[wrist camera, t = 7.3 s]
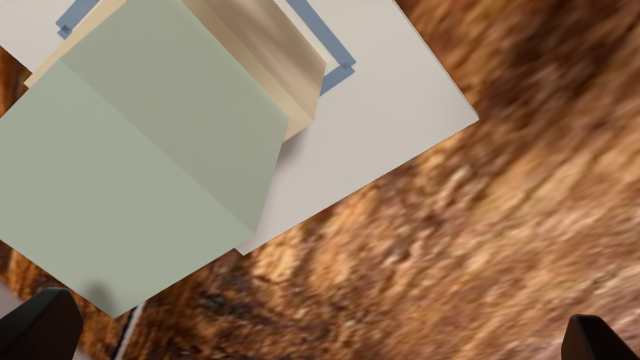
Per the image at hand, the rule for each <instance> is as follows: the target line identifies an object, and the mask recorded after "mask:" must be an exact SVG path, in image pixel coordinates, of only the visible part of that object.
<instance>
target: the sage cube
mask: <svg viewBox="0 0 640 360" xmlns="http://www.w3.org/2000/svg"><path fill="white" fill-rule="evenodd" d="M289 118H290V117H289V116H288V115H287V114H286V113H285V112H284V111H283V110H282V109H281V107H280V106H279V105H278V104H277V103H276V102H275V101H274V100H273V99H272V98H271V97H270V96H269V95H268V94H267V92H266V91H265V90H264V89H263V88H262V87H261V86H260V85H259V84H258V83H257V82H256V81H255V80H254V79H253V78H252V76H251V75H250V74H249V73H248V72H247V71H246V70H245V69H244V68H243V67H242V66H241V65H240V64H239V63H238V61H237V60H236V59H235V58H234V57H233V56H232V55H231V54H230V53H229V52H228V51H227V50H226V49H225V48H224V47H223V45H222V44H221V43H220V42H219V41H218V40H217V39H216V38H215V37H214V36H213V35H212V34H211V33H210V32H209V30H208V29H207V28H206V27H205V26H204V25H203V24H202V23H201V22H200V21H199V20H198V19H197V18H196V17H195V16H194V14H193V13H192V12H191V11H190V10H189V9H188V8H187V7H186V6H185V5H184V4H183V3H182V2H181V1H180V0H127V1H126V2H125V3H124V4H123V5H122V6H120V7H119V8H118V9H117V10H116V11H114V12H113V13H112V14H111V15H110V16H109V17H107V18H106V19H105V20H104V21H103V22H102V23H100V24H99V25H98V26H97V27H96V28H94V29H93V30H92V31H91V32H90V33H89V34H87V35H86V36H85V37H84V38H83V39H81V40H80V41H79V42H78V43H77V44H76V45H74V46H73V47H72V48H71V49H70V50H69V51H67V52H66V53H65V54H64V55H63V56H61V57H60V58H59V59H58V60H57V61H56V62H55V63H54V64H53V65H52V66H51V67H50V68H49V69H48V70H47V71H46V72H45V73H44V74H43V75H42V77H41V78H40V79H39V80H38V81H37V82H36V83H35V84H34V85H33V86H32V87H31V88H30V89H29V90H28V91H27V92H26V93H25V94H24V95H23V96H22V97H21V98H20V99H19V100H18V101H17V102H16V103H15V104H14V105H13V106H12V107H11V108H10V109H9V110H8V111H7V112H6V113H5V114H4V116H3V117H2V118H1V119H0V239H1V240H2V241H4V242H5V243H7V244H8V245H9V246H11V247H12V248H14V249H15V250H17V251H18V252H19V253H21V254H22V255H24V256H25V257H27V258H28V259H29V260H31V261H32V262H34V263H35V264H37V265H38V266H39V267H41V268H42V269H44V270H45V271H47V272H48V273H49V274H51V275H52V276H54V277H55V278H57V279H58V280H59V281H61V282H62V283H64V284H65V285H67V286H68V287H69V288H71V289H72V290H74V291H75V292H77V293H78V294H79V295H81V296H82V297H84V298H85V299H87V300H88V301H89V302H91V303H92V304H94V305H95V306H97V307H98V308H99V309H101V310H102V311H104V312H105V313H107V314H108V315H109V316H111V317H112V318H114V319H115V318H116V317H118V316H120V315H122V314H123V313H125V312H127V311H128V310H130V309H132V308H133V307H135V306H137V305H138V304H140V303H142V302H144V301H145V300H147V299H149V298H150V297H152V296H154V295H155V294H157V293H159V292H160V291H162V290H164V289H165V288H167V287H169V286H171V285H172V284H174V283H176V282H177V281H179V280H181V279H182V278H184V277H186V276H187V275H189V274H191V273H192V272H194V271H196V270H198V269H199V268H201V267H203V266H204V265H206V264H208V263H209V262H211V261H213V260H214V259H216V258H218V257H219V256H221V255H223V254H225V253H226V252H228V251H230V250H231V249H233V248H235V247H236V246H238V245H240V244H241V243H243V242H245V241H247V240H248V239H250V238H252V237H253V236H255V234H256V231H257V228H258V224H259V221H260V217H261V214H262V211H263V207H264V204H265V200H266V197H267V193H268V190H269V187H270V183H271V180H272V176H273V173H274V169H275V166H276V163H277V159H278V156H279V152H280V149H281V145H282V142H283V139H284V135H285V132H286V128H287V125H288V122H289Z"/></svg>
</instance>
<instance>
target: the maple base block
mask: <svg viewBox="0 0 640 360" xmlns="http://www.w3.org/2000/svg"><path fill="white" fill-rule="evenodd" d="M126 1H127V0H103V1H102V2H101V3H100V4H99V5H98V6H97V7H96V8H95V9H94V10H93V11H92V12H91V13H90V14H89V16H88V17H87V18H86V19H85V20H84V21H83V22H82V23H81V24H80V25H79V26H78V27H77V28H76V29H75V30H74V31H73V32H72V33H71V34H70V35H69V36H68V37H67V38H66V40H65V41H64V42H63V43H62V44H61V45H60V46H59V47H58V48H57V49H56V50H55V51H54V52H53V53H52V54H51V55H50V56H49V57H48V58H47V59H46V60H45V61H44V62H43V64H42V65H41V66H40V67H39V68H38V69H37V70H36V71H35V72H34V73H33V74H32V75H31V76H30V77H29V78H28V79H27V80H26V81H25V82H24V84H25V85H26V86H28V87H29V88H31V87H32V86H33V85H34V84H35V83H36V82H37V81H38V80H39V79H40V78H41V77H42V75H43V74H44V73H45V72H46V71H47V70H48V69H49V68H50V67H51V66H52V65H53V64H54V63H55V62H56V61H57V60H58V59H59V58H60V57H61V56H63V55H64V54H65V53H66V52H67V51H69V50H70V49H71V48H72V47H73V46H74V45H76V44H77V43H78V42H79V41H80V40H81V39H83V38H84V37H85V36H86V35H87V34H89V33H90V32H91V31H92V30H93V29H94V28H96V27H97V26H98V25H99V24H100V23H102V22H103V21H104V20H105V19H106V18H107V17H109V16H110V15H111V14H112V13H113V12H114V11H116V10H117V9H118V8H119V7H120V6H122V5H123V4H124V3H125V2H126ZM180 1H181V2H182V3H183V4H184V5H185V6H186V7H187V8H188V9H189V10H190V11H191V12H192V13H193V14H194V16H195V17H196V18H197V19H198V20H199V21H200V22H201V23H202V24H203V25H204V26H205V27H206V28H207V29H208V30H209V32H210V33H211V34H212V35H213V36H214V37H215V38H216V39H217V40H218V41H219V42H220V43H221V44H222V45H223V47H224V48H225V49H226V50H227V51H228V52H229V53H230V54H231V55H232V56H233V57H234V58H235V59H236V60H237V61H238V63H239V64H240V65H241V66H242V67H243V68H244V69H245V70H246V71H247V72H248V73H249V74H250V75H251V76H252V78H253V79H254V80H255V81H256V82H257V83H258V84H259V85H260V86H261V87H262V88H263V89H264V90H265V91H266V92H267V94H268V95H269V96H270V97H271V98H272V99H273V100H274V101H275V102H276V103H277V104H278V105H279V106H280V107H281V109H282V110H283V111H284V112H285V113H286V114H287V115H288V116H289V117H290V118H289V122H288V125H287V128H286V132H285V135H284V139H283V142H285V141H286V140H287V139H289V138H290V137H292V136H293V135H295V134H296V133H298V132H299V131H301V130H302V129H304V128H305V127H307V126H308V125H310V124H311V123H313V122H314V119H315V114H316V109H317V105H318V100H319V96H320V91H321V86H322V82H323V77H324V73H325V68H326V64H327V63H326V62H325V60H324V59H323V58H322V57H321V56H320V55H319V53H318V52H317V51H316V50H315V49H314V47H313V46H312V45H311V44H310V43H309V42H308V40H307V39H306V38H305V37H304V36H303V34H302V33H301V32H300V31H299V30H298V29H297V27H296V26H295V25H294V24H293V23H292V22H291V20H290V19H289V18H288V17H287V16H286V14H285V13H284V12H283V11H282V10H281V9H280V7H279V6H278V5H277V4H276V3H275V1H274V0H180ZM283 142H282V143H283Z"/></svg>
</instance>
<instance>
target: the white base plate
mask: <svg viewBox="0 0 640 360" xmlns="http://www.w3.org/2000/svg"><path fill="white" fill-rule="evenodd" d="M102 1H103V0H0V45H1V46H2V47H3V48H4V49H5V50H7V51H8V52H9V53H10V54H11V55H12V56H13V57H15V58H16V59H17V60H18V61H19V62H20V63H22V64H23V65H24V66H25V67H26V68H27V69H28V70H30V71H31V72H32V73H34V72H35V71H36V70H37V69H38V68H39V67H40V66H41V65H42V64H43V62H44V61H45V60H46V59H47V58H48V57H49V56H50V55H51V54H52V53H53V52H54V51H55V50H56V49H57V48H58V47H59V46H60V45H61V44H62V43H63V42H64V41H65V40H66V38H67V37H68V36H69V35H70V34H71V33H72V32H73V31H74V30H75V29H76V28H77V27H78V26H79V25H80V24H81V23H82V22H83V21H84V20H85V19H86V18H87V17H88V16H89V14H90V13H91V12H92V11H93V10H94V9H95V8H96V7H97V6H98V5H99V4H100V3H101V2H102ZM274 1H275V3H276V4H277V5H278V6H279V7H280V9H281V10H282V11H283V12H284V13H285V14H286V16H287V17H288V18H289V19H290V20H291V22H292V23H293V24H294V25H295V26H296V27H297V29H298V30H299V31H300V32H301V33H302V34H303V36H304V37H305V38H306V39H307V40H308V42H309V43H310V44H311V45H312V46H313V47H314V49H315V50H316V51H317V52H318V53H319V55H320V56H321V57H322V58H323V59H324V60H325V62H326V63H327V64H326V68H325V73H324V77H323V82H322V86H321V91H320V96H319V100H318V105H317V109H316V114H315V119H314V122H313V123H311V124H310V125H308V126H307V127H305V128H304V129H302V130H301V131H299V132H298V133H296V134H295V135H293V136H292V137H290V138H289V139H287V140H286V141H285V142H283V143H282V145H281V149H280V152H279V156H278V159H277V163H276V166H275V169H274V173H273V176H272V180H271V183H270V187H269V190H268V193H267V197H266V200H265V204H264V207H263V211H262V214H261V217H260V221H259V224H258V228H257V231H256V234H255V236H253V237H252V238H250V239H248V240H247V241H245V242H243V243H241V244H240V245H238V246H236V247H235V249H236V250H237V251H239V252H240V253H241V254H242V255H243V256H244V255H245V254H247V253H249V252H251V251H252V250H254V249H256V248H257V247H259V246H261V245H263V244H264V243H266V242H268V241H270V240H271V239H273V238H275V237H277V236H278V235H280V234H282V233H284V232H285V231H287V230H289V229H290V228H292V227H294V226H296V225H297V224H299V223H301V222H303V221H304V220H306V219H308V218H310V217H311V216H313V215H315V214H316V213H318V212H320V211H322V210H323V209H325V208H327V207H329V206H330V205H332V204H334V203H336V202H337V201H339V200H341V199H343V198H344V197H346V196H348V195H349V194H351V193H353V192H355V191H356V190H358V189H360V188H362V187H363V186H365V185H367V184H369V183H370V182H372V181H374V180H375V179H377V178H379V177H381V176H382V175H384V174H386V173H388V172H389V171H391V170H393V169H395V168H396V167H398V166H400V165H402V164H403V163H405V162H407V161H408V160H410V159H412V158H414V157H415V156H417V155H419V154H421V153H422V152H424V151H426V150H428V149H429V148H431V147H433V146H434V145H436V144H438V143H440V142H441V141H443V140H445V139H447V138H448V137H450V136H452V135H454V134H455V133H457V132H459V131H461V130H462V129H464V128H466V127H467V126H469V125H471V124H473V123H474V122H476V121H478V120H479V117H478V114H477V112H476V111H475V110H474V108H473V107H472V106H471V104H470V103H469V101H468V100H467V99H466V97H465V96H464V95H463V93H462V92H461V91H460V89H459V88H458V86H457V85H456V84H455V82H454V81H453V80H452V78H451V77H450V75H449V74H448V73H447V71H446V70H445V69H444V67H443V66H442V65H441V63H440V62H439V60H438V59H437V58H436V56H435V55H434V54H433V52H432V51H431V50H430V48H429V47H428V45H427V44H426V43H425V41H424V40H423V39H422V37H421V36H420V35H419V33H418V32H417V30H416V29H415V28H414V26H413V25H412V24H411V22H410V21H409V19H408V18H407V17H406V15H405V14H404V13H403V11H402V10H401V9H400V7H399V6H398V4H397V3H396V2H395V0H274Z"/></svg>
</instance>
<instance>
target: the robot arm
mask: <svg viewBox="0 0 640 360" xmlns="http://www.w3.org/2000/svg"><path fill="white" fill-rule="evenodd" d="M82 329H83V316H82V313H81V311H80V309H79V307H78V305H77V303H76V301H75V299H74V297H73V295H72V293H71V291H70V290H68V289H66V288H46V289H43V290H42V291H40V292H39V293H37V294H36V295H34V296H33V297H31V298H30V299H29V300H27V301H26V302H24V303H23V304H21V305H20V306H18V307H17V308H16V309H14V310H13V311H11V312H10V313H9V314H7V315H5V316H4V317H3V318H1V319H0V360H72V359H73V356H74V353H75V350H76V347H77V344H78V341H79V338H80V335H81V332H82ZM561 358H562V360H640V358H639V357H638V356H637V355H636V354H635V353H634V352H633V351H632V350H631V349H630V348H629V347H628V345H627V344H626V343H625V342H624V341H623V340H622V339H621V338H620V337H619V336H618V335H617V334H616V333H615V332H614V331H613V330H612V329H611V328H610V327H609V325H608V324H607V323H606V322H605V321H604V320H603V319H602V318H600V317H599V316H596V315H583V314H575V315H572V316H571V318H570V320H569V323H568V326H567V329H566V333H565V336H564V339H563V343H562V347H561Z"/></svg>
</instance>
